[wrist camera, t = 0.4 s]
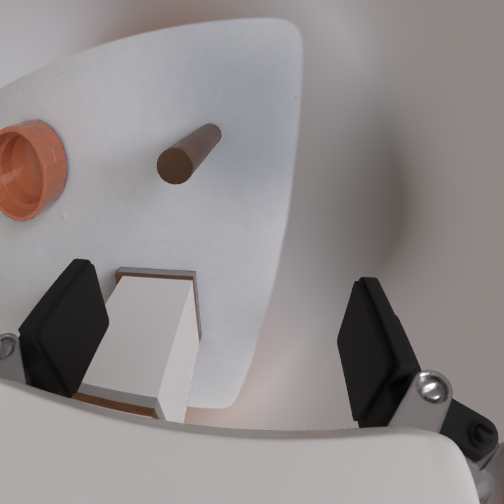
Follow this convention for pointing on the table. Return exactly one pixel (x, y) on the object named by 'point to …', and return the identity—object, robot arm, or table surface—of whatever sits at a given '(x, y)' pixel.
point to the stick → (187, 154)
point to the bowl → (30, 169)
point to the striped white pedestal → (147, 346)
